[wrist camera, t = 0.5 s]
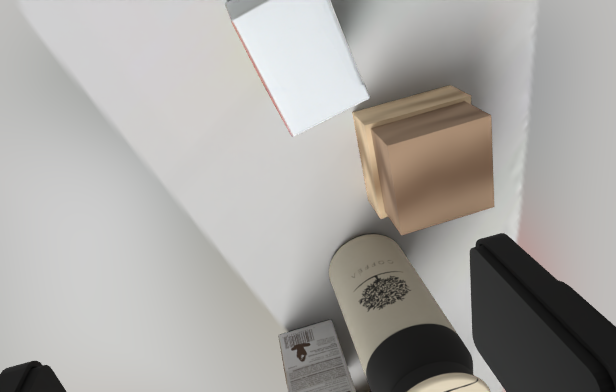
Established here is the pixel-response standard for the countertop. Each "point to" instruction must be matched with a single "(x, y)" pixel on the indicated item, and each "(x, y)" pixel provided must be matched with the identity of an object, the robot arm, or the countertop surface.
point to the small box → (299, 58)
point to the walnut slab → (435, 166)
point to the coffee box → (315, 360)
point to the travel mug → (398, 322)
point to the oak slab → (391, 114)
